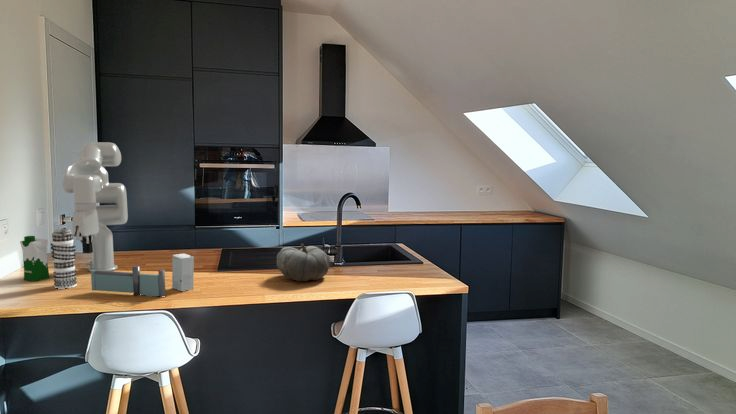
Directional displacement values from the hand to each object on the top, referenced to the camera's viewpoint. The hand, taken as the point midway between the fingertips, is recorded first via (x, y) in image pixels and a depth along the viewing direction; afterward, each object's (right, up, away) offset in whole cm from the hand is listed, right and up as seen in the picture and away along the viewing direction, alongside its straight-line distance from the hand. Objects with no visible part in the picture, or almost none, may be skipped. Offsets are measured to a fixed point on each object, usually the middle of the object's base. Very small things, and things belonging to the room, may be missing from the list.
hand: (87, 252), depth 204 cm
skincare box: (+32, -17, +17) cm, 40 cm away
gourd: (+82, -16, +38) cm, 91 cm away
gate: (+6, -17, +9) cm, 20 cm away
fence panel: (+24, -18, +6) cm, 31 cm away
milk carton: (-39, -15, +29) cm, 51 cm away
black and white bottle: (-19, -16, +18) cm, 31 cm away
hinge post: (+16, -18, +7) cm, 26 cm away
